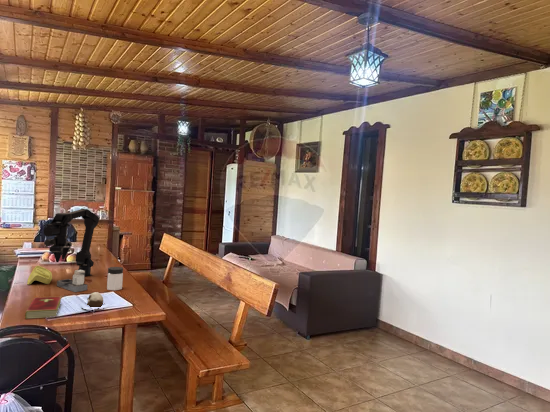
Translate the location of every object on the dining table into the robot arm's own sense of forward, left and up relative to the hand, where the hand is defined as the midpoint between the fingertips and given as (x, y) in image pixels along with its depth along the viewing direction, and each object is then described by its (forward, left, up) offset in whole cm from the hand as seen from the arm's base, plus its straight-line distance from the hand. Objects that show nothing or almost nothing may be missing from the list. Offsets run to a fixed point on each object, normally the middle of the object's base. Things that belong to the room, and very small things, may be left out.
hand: (60, 260), depth 230 cm
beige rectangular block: (-8, +7, -13) cm, 17 cm away
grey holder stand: (+2, +16, -13) cm, 20 cm away
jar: (-14, +32, -13) cm, 37 cm away
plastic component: (+6, -9, -13) cm, 17 cm away
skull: (+14, +54, -13) cm, 57 cm away
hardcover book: (+32, +43, -14) cm, 55 cm away
